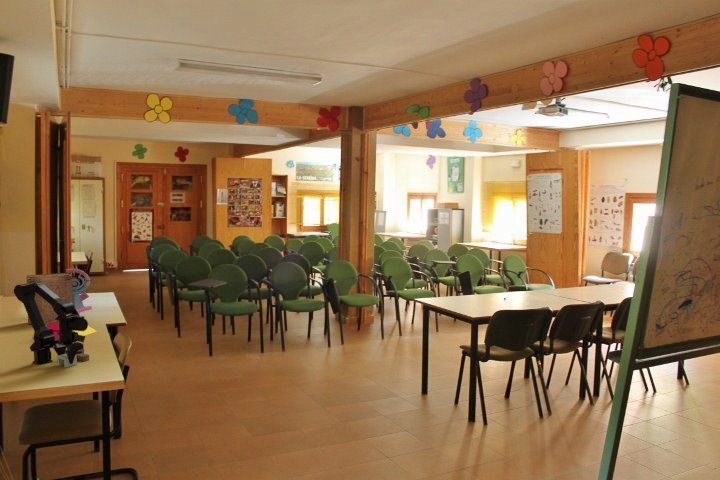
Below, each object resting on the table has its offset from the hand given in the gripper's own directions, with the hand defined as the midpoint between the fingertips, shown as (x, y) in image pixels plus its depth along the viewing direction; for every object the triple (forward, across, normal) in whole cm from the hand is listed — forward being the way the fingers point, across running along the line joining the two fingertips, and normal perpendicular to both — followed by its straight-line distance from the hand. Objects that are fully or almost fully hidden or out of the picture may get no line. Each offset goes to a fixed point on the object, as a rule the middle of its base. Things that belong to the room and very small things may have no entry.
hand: (67, 362), depth 277 cm
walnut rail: (+1, +4, -9) cm, 10 cm away
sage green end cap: (+1, 0, 0) cm, 1 cm away
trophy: (+1, +125, -80) cm, 148 cm away
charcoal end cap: (+1, +9, -9) cm, 13 cm away
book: (+1, +103, -50) cm, 114 cm away
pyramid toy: (+2, +60, -34) cm, 70 cm away
